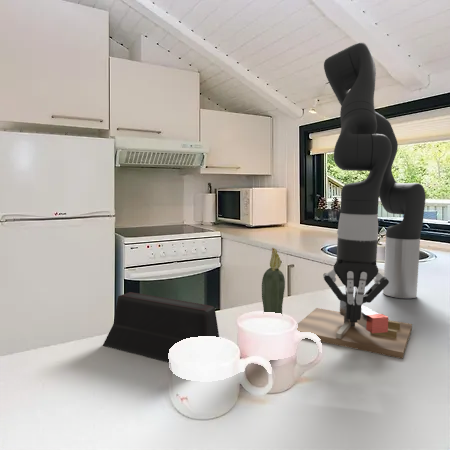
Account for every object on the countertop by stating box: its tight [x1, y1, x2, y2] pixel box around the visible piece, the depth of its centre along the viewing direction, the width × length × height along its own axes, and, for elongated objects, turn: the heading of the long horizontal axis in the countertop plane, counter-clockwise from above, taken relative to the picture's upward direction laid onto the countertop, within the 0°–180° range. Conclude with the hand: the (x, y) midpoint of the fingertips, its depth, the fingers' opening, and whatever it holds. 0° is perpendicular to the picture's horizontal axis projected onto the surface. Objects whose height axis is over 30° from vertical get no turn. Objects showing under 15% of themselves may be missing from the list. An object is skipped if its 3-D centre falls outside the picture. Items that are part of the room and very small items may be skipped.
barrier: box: [102, 291, 220, 364], centre depth 75 cm, size 24×9×10 cm, turn 63°
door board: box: [297, 307, 413, 360], centre depth 86 cm, size 18×22×3 cm
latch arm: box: [339, 300, 389, 333], centre depth 82 cm, size 14×4×3 cm, turn 11°
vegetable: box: [261, 247, 286, 315], centre depth 74 cm, size 4×4×20 cm
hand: (352, 321), depth 79 cm, fingers closed
